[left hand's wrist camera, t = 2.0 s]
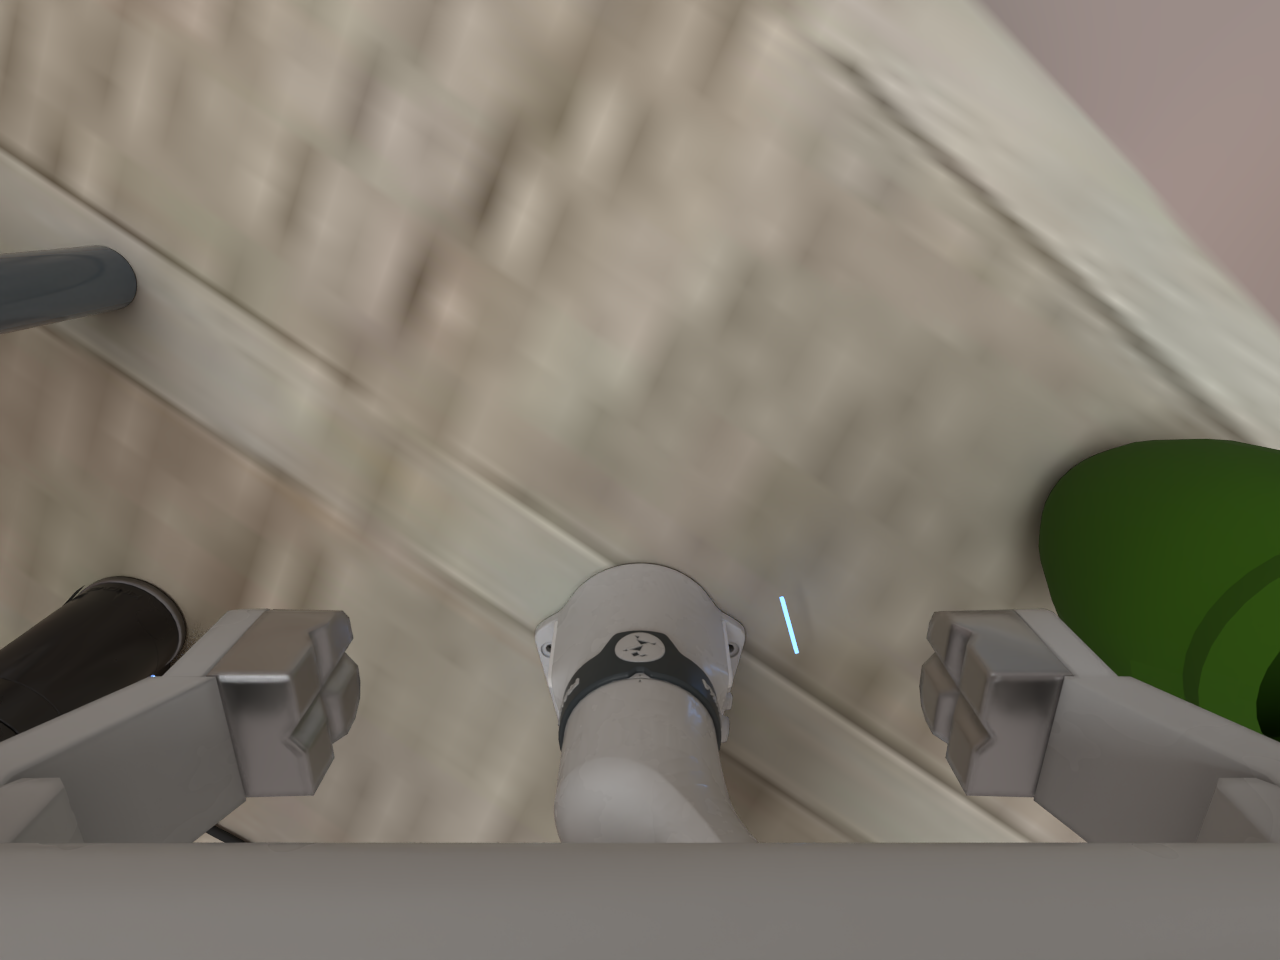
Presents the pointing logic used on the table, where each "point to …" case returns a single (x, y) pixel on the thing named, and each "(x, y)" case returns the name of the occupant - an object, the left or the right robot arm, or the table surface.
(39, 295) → the dark gray cylinder
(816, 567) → the table surface
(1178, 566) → the vase
